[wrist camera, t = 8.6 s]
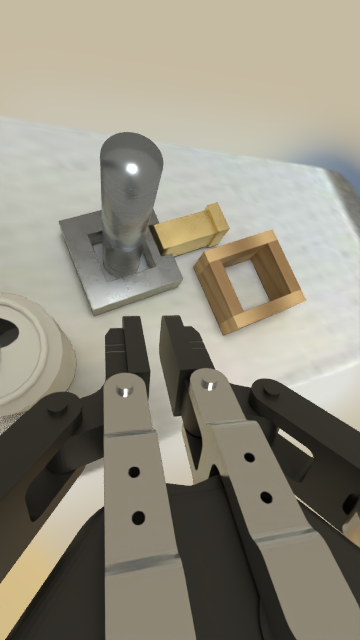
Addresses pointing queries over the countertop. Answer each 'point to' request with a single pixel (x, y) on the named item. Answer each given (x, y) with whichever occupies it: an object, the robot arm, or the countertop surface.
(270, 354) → the countertop surface
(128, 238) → the grey capsule rod
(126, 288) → the socket block
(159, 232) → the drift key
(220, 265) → the brown square frame
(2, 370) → the can
